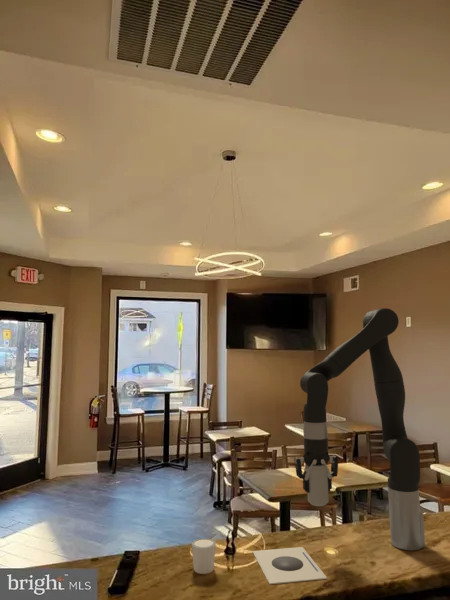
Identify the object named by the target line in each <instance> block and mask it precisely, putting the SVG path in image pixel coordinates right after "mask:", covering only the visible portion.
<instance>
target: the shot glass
mask: <svg viewBox="0 0 450 600" xmlns="http://www.w3.org/2000/svg"><path fill="white" fill-rule="evenodd" d="M216 544H217V543H216V541H215V540H214V539H211V538H198V539H195V540H193V541H192V542H191V552H192V561H193V562H192V563H193V571H194V572H195V573H196V574H199V575H200V574H201V575H203V574H204V575H205V574H210V573H212V572H213V571H214V569H215V556H216V546H217V545H216Z"/></svg>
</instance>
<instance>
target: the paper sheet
mask: <svg viewBox="0 0 450 600" xmlns="http://www.w3.org/2000/svg"><path fill="white" fill-rule="evenodd" d="M252 554H253V556H254V558H255V559H256V561H257V563H258V566H259V567H260V569H261V571H262V572H263V575H264V577H265V578H266V581H267V583H268V584H269V585H277V584H288V583H289V584H290V583H298V582H299V583H301V582H310V581H311V582H312V581H319V580H320V581H321V580H328V576H327V575H325V573H324V572H323V571H322V569H321V568H320V567H319V565H318V564H317V563H316V562H315V561H314V559H312V557H311V556H310V554H309V553H308V552H307V551H306V549H305V548H304V547H303V546H300V547H299V546H298V547H296V546H295V547H288V548H285V547H284V548H274V549H273V548H272V549H264V550H261V549H260V550H252Z"/></svg>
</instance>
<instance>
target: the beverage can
mask: <svg viewBox="0 0 450 600" xmlns="http://www.w3.org/2000/svg"><path fill="white" fill-rule="evenodd" d="M325 466H326V465H315V466H312V469H311V473H310V474H309V475H310V476H309V478H308V480H309V493H307V502H308V503H309V504H310V505H312V506H314V507H324V506H326V505H327V504H329V501H330V500H329V491H328V473H327V468H326V467H325ZM307 469H309V467H308V466H307Z"/></svg>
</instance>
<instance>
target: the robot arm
mask: <svg viewBox="0 0 450 600" xmlns="http://www.w3.org/2000/svg"><path fill="white" fill-rule="evenodd" d="M398 326H399V317H398V315H397V313H396V312H395V311H394V310H392V309H391V308H387V307H382V308H377V309H372V310H370V311H368V312H366V313H365V314H364V316H363V319H362V329H361V330H360V331H359V332H358V333H356V334H355V335H353V336H352V337H351V338H349V339H348V340H346V341H345V342H343V343H342V344H340V345H339V346H337V347H336V348H335V349H334V350H333V351H331V352H330V353H329V354H328V355H327V356H326V357H325V358H324V359H323V360H321V361H320V362H319V363H316V365H314V366H313V367H311V368H310V369H309V370H307V371H306V372H305V373H304V374H303V375H302V376H301V377H300V381H299V385H300V388H301V390H302V391H303V392H304V393H306V403H305V404H304V405H303V430H302V431H303V452H304V453H303V456H302V457H297V456H296V457H294V465H295V467H294V468H295V473H296V476H297V477H298V479H301V480H302V489H303V490H304V492H305V493H306V494H308V493H309V480H308V478H309V476H310V475H309V474H310V473H311V469H312V466H315V465H326V466H325V467H326V468H327V473H328V492H331V490H332V488H333V484H332V483H333V482H332V479H333V478H334V477H338V472H339V469H338V468H339V457H338V456H336V455H334V454H333V455H329V437H328V436H329V432H328V423H327V410H326V409H327V404H328V403H327V402H328V398H329V397H328V396H329V395H328V394H329V382H330V381H331V380H332V379H335V378H337V377H339V376H340V375H341V374H343V372H345V371H346V370H347V369H348V368H349V367H350V366H351V365H352V364H354V362H356V360H358V359H359V358H360V357H361V356H362V355H363V354H365V353H366V352H367V351H369V356H370V364H371V369H372V370H371V371H372V374H373V375H372V377H373V383H374V390H375V396H376V400H377V401H376V402H377V406H378V411H379V415H380V420H381V421H380V422H381V433H382V435H381V436H382V449H383V450H382V451H383V453H384V456H385V457H386V458H387V459H388V461H389V464H390V465H389V466H390V473H389V474H390V475H389V476H388V478H387V497H388V511H389V513H388V514H389V530H390V531H389V532H390V536H389V537H390V544H391V545H392V546H393V547H395V548H398V549H400V550H405V551H419V550H421V549H422V548H426V539H425V537H426V536H425V523H424V522H425V521H424V515H423V514H422V513H421V505H420V504H421V503H420V489H419V488H420V487H419V485H420V484H419V483H420V482H421V457H420V451H419V447H418V446H417V444H416V443H415V442H414V440H411V439H410V438H408V435H407V431H406V427H405V421H404V412H405V404H406V389H405V384H404V377H403V374H402V371H401V369H400V367H399V365H398V363H397V362H396V360H395V358H394V356H393V354H392V352H391V348H390V345H389V337H388V336H390V335H392V334H393V333H394V332H396V330H397V328H398ZM304 462H305V466H304V470H303V468H302V465H303V463H304ZM328 462H330V464H331V465H330V466H331V467H330V469H329V467H328V465H327V464H328ZM307 466H308V467H309V469H307Z"/></svg>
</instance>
